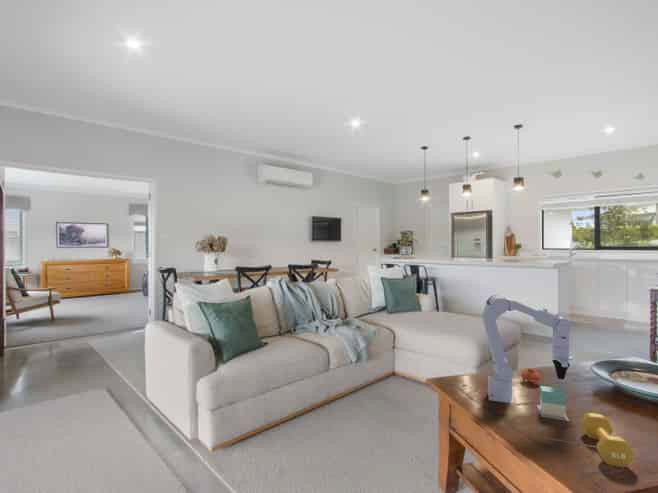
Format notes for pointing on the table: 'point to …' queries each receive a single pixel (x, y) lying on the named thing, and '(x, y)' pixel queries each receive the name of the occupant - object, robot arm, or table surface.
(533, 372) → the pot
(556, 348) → the robot arm
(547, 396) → the brick teal
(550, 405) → the brick cream
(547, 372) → the table surface
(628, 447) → the dumbbell
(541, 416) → the build board
